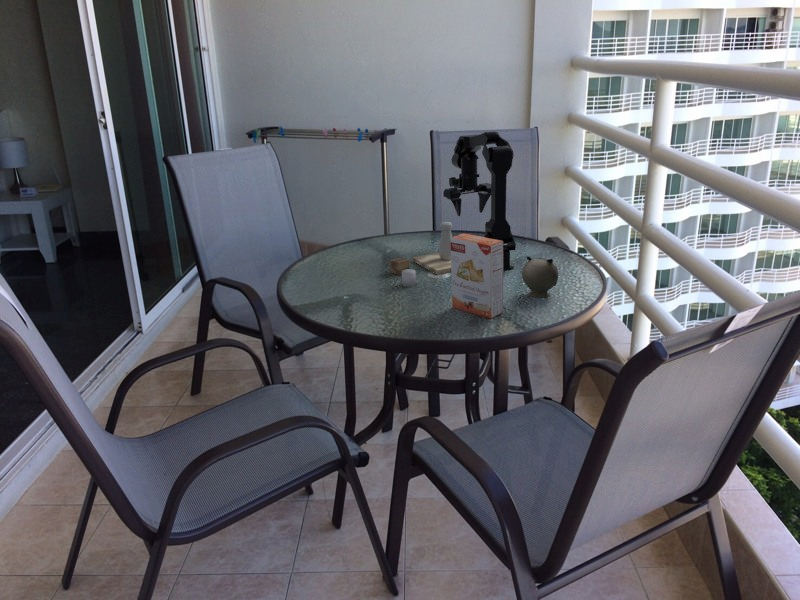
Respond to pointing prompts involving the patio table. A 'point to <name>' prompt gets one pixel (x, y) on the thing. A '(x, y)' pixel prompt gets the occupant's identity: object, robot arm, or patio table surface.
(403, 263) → the walnut block
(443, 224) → the salt shaker
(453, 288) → the cracker box
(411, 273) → the white rounded cube
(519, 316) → the patio table surface
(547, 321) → the patio table surface
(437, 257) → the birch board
